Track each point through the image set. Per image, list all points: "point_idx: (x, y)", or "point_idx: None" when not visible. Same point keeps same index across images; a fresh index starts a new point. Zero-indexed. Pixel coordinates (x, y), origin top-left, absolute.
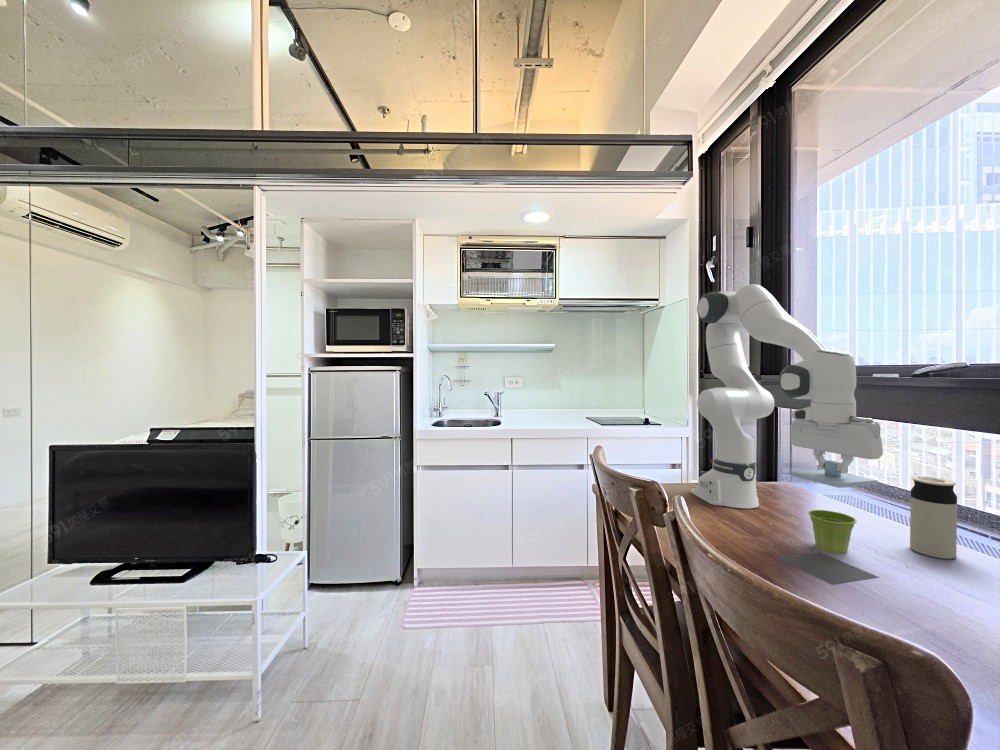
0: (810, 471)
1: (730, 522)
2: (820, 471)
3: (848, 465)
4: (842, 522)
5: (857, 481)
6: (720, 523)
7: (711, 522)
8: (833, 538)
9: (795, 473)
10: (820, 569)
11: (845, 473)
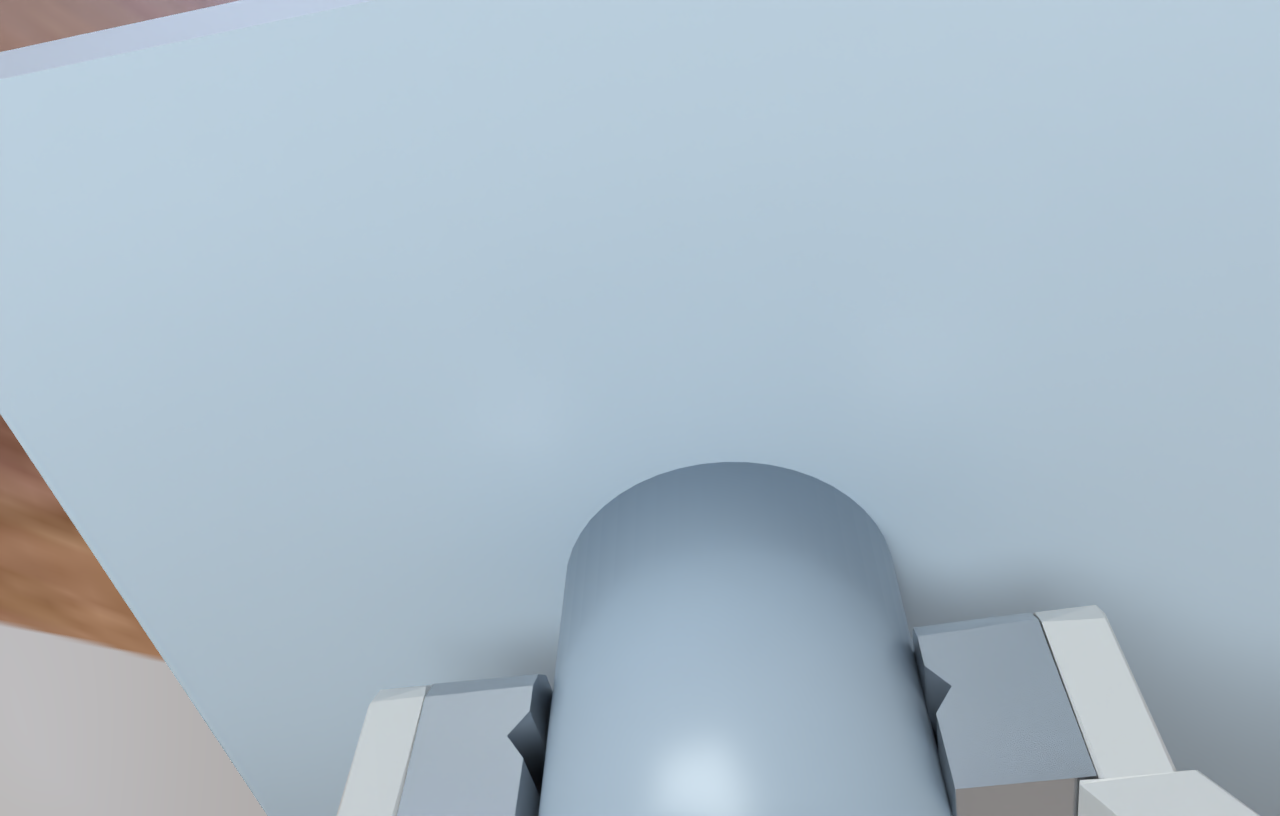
0: (278, 703)
1: (26, 465)
2: (228, 515)
3: (1210, 796)
4: None
5: None
6: (81, 546)
7: (73, 593)
8: None
9: None
10: None
11: (431, 26)
